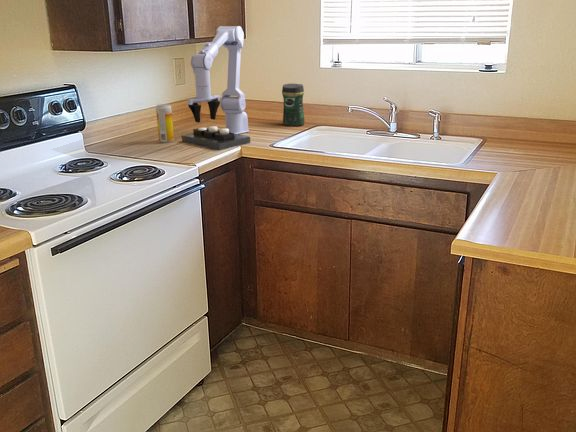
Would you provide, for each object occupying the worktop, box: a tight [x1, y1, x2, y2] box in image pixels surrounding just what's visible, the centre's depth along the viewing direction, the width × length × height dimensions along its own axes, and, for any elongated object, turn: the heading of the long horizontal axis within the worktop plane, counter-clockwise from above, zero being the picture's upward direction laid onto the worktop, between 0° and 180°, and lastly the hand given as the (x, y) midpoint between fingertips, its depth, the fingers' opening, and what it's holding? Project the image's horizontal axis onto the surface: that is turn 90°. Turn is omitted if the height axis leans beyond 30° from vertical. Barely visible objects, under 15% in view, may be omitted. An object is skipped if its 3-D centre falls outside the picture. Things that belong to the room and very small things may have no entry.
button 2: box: [207, 125, 219, 133], centre depth 234 cm, size 4×4×2 cm
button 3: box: [219, 127, 229, 135], centre depth 230 cm, size 4×4×2 cm
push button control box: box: [181, 127, 251, 151], centre depth 237 cm, size 16×26×5 cm, turn 46°
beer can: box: [155, 103, 175, 144], centre depth 238 cm, size 6×6×15 cm
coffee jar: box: [281, 83, 305, 127], centre depth 265 cm, size 10×8×19 cm
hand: (205, 120), depth 231 cm, fingers open, 7 cm apart
